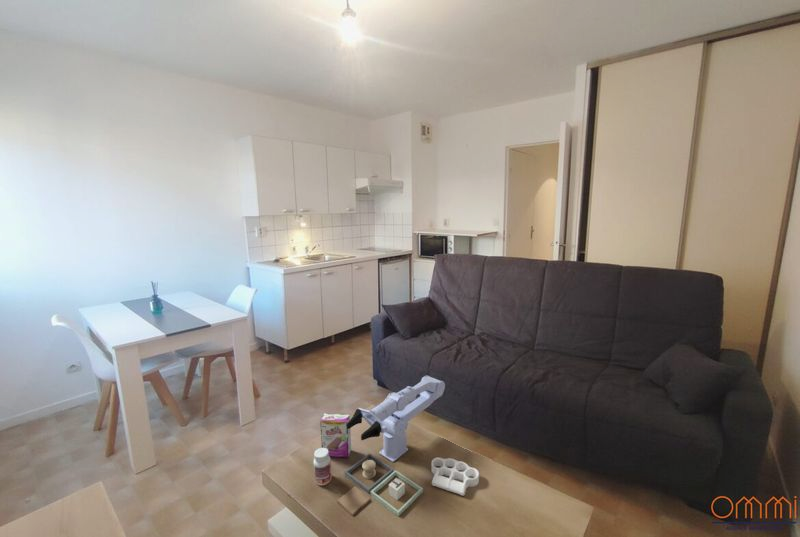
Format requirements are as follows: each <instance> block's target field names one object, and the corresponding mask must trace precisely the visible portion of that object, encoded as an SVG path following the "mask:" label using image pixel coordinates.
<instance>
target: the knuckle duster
mask: <svg viewBox="0 0 800 537" xmlns="http://www.w3.org/2000/svg"><path fill="white" fill-rule="evenodd" d="M437 466H438V467H437ZM430 467H431V473H432V474H433V478H432V481H431V485H432V486H433V487H437V488H440V489H443V490H446V492H447V491H448V492H451V493H455V494H458V495H460V496H465V494H466V492H467V489H468V488H470V487H471V488H472V487H476V486H477V485H478V484H479V483H480V472H479V470H478V469H477V468H475V467H471V466H469V465H468V464H467V463H466V462H464V461H461V460H456V459H455V458H451V457H448V458H442V457H438V456H437V457H435V458H433V459H432V460H431V465H430ZM450 467H451V468H450ZM461 481H462V482H461Z"/></svg>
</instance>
